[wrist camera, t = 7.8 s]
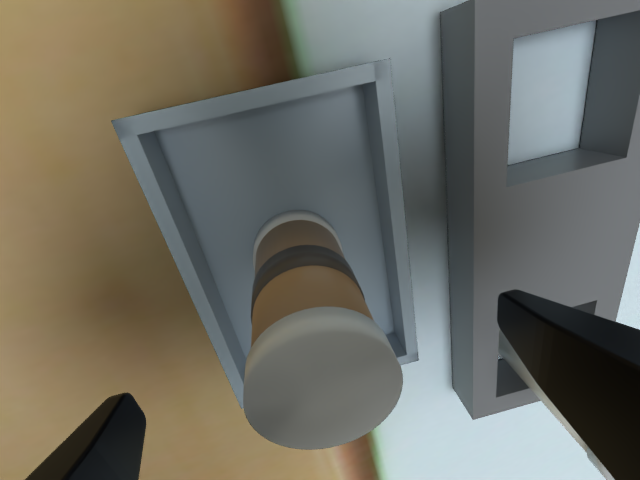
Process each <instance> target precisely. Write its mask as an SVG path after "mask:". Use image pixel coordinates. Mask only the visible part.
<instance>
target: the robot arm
mask: <svg viewBox="0 0 640 480" xmlns="http://www.w3.org/2000/svg"><path fill="white" fill-rule="evenodd" d="M497 323H498V326H499V328H500V330H501V331H502V333H503V334H504V336H505V337H506V339H507V340H508V342H509V343H510V345H511V346H512V348H513V349H514V351H515V352H516V354H517V355H518V357H519V358H520V360H521V361H522V363H523V364H524V366H525V367H526V369H527V370H528V372H529V373H530V375H531V376H532V378H533V379H534V380H535V382H536V383H537V385H538V386H539V387H540V388H541V390H542V391H543V392H544V393H545V395H546V396H547V397H548V398H549V400H550V401H551V402H552V403H553V405H554V406H555V407H556V408H557V409H558V411H559V412H560V413H561V414H562V416H563V417H564V418H565V419H566V420H567V422H568V423H569V424H570V425H571V427H572V428H573V429H574V430H575V431H576V433H577V434H578V435H579V436H580V438H581V439H582V440H583V441H584V443H585V444H586V445H587V446H588V447H589V449H590V450H591V451H592V452H593V454H594V455H595V456H596V457H597V458H598V460H599V461H600V462H601V463H602V465H603V466H604V467H605V468H606V469H607V471H608V472H609V473H610V474H611V476H612V477H613V478H614V479H615V480H640V330H639V329H636V328H633V327H630V326H627V325H624V324H621V323H618V322H615V321H612V320H609V319H606V318H603V317H600V316H597V315H594V314H591V313H588V312H584V311H581V310H578V309H575V308H572V307H569V306H566V305H563V304H560V303H557V302H554V301H551V300H548V299H545V298H542V297H539V296H536V295H533V294H530V293H527V292H524V291H521V290H518V289H513V290H509V291H506V292H502V293H500V294H499V296H498V304H497ZM145 429H146V418H145V415H144V413H143V411H142V410H141V408H140V407H139V405H138V404H137V402H136V401H135V399H134V398H133V396H132V395H131V394H130V393H122V394H118V395H114V396H111V397H109V398H107V399H106V400H105V401H104V402H103V403H102V404H101V405H100V406H99V407H98V408H97V409H96V410H95V411H94V412H93V413H92V414H91V415H90V416H89V417H88V418H87V419H86V420H85V421H84V422H83V423H82V424H81V425H80V426H79V427H78V428H77V429H76V430H75V431H74V432H73V433H72V434H71V435H70V436H69V437H68V438H67V439H66V440H65V441H64V442H63V443H62V444H61V445H60V446H59V447H58V448H57V449H56V450H55V451H53V452H52V453H51V454H50V455H49V456H48V457H47V458H46V459H45V460H44V461H43V462H42V463H41V464H40V465H39V466H38V467H37V468H36V469H35V470H34V471H33V472H32V473H31V474H30V475H29V476H28V477H27V478H26V479H25V480H138V479H139V472H140V464H141V457H142V450H143V443H144V436H145Z"/></svg>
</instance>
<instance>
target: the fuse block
mask: <svg viewBox="0 0 640 480" xmlns="http://www.w3.org/2000/svg"><path fill="white" fill-rule="evenodd" d="M440 13H441V43H442V73H443V103H444V133H445V163H446V193H447V222H448V252H449V282H450V312H451V342H452V372H453V389H454V390H455V392H456V394H457V395H458V397H459V398H460V400H461V402H462V403H463V405H464V406H465V408H466V410H467V411H468V413H469V414H470V416H471V418H472V419H473V420H474V419H478V418H481V417H485V416H488V415H492V414H495V413H499V412H502V411H506V410H509V409H513V408H516V407H520V406H523V405H527V404H530V403H534V402H537V401H541V400H540V399H539V398H538V397H537V396H536V395H535V393H534V392H533V391H532V390H531V389H530V388H529V387H528V386H527V384H526V383H525V382H524V381H523V380H522V379H521V378H520V376H519V375H518V374H517V373H516V372H515V371H514V370H513V369H512V367H511V366H510V365H509V364H508V363H507V362H506V361H505V359H501V360H498V346H499V326H498V323H497V304H498V296H499V294H500V293H502V292H506V291H509V290H513V289H518V290H521V291H524V292H527V293H530V294H533V295H536V296H539V297H542V298H545V299H548V300H551V301H554V302H557V303H560V304H563V305H566V306H569V307H572V308H575V309H578V310H581V311H584V312H588V313H591V314H594V315H597V316H600V317H603V318H606V319H609V320H612V321H616V317H617V313H618V309H619V305H620V301H621V297H622V293H623V288H624V284H625V280H626V276H627V272H628V268H629V264H630V260H631V256H632V252H633V247H634V243H635V239H636V235H637V231H638V227H639V223H640V0H469V1H466V2H464V3H462V4H459V5H457V6H454V7H452V8H449V9H447V10H445V11H442V12H440ZM594 20H598V22H597V29H596V36H595V43H594V50H593V57H592V64H591V71H590V78H589V85H588V92H587V99H586V106H585V113H584V120H583V128H582V135H581V142H580V148H578V149H574V150H570V151H566V152H562V153H558V154H554V155H550V156H546V157H542V158H538V159H534V160H529V161H525V162H521V163H517V164H513V165H509V166H507V161H508V141H509V120H510V100H511V79H512V59H513V39H514V38H518V37H522V36H527V35H531V34H536V33H540V32H545V31H549V30H554V29H558V28H562V27H567V26H571V25H576V24H580V23H585V22H589V21H594Z"/></svg>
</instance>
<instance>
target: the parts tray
mask: <svg viewBox="0 0 640 480" xmlns="http://www.w3.org/2000/svg"><path fill="white" fill-rule="evenodd" d="M111 122H112V124H113V126H114V129H115V131H116V133H117V135H118V137H119V140H120V142H121V144H122V146H123V148H124V151H125V153H126V155H127V157H128V159H129V162H130V164H131V166H132V168H133V170H134V173H135V175H136V177H137V179H138V182H139V184H140V186H141V188H142V190H143V193H144V195H145V197H146V199H147V201H148V204H149V206H150V208H151V210H152V212H153V215H154V217H155V219H156V221H157V223H158V226H159V228H160V230H161V232H162V235H163V237H164V239H165V241H166V243H167V246H168V248H169V250H170V252H171V254H172V257H173V259H174V261H175V263H176V265H177V268H178V270H179V272H180V274H181V276H182V279H183V281H184V283H185V285H186V288H187V290H188V292H189V294H190V296H191V299H192V301H193V303H194V305H195V307H196V310H197V312H198V314H199V316H200V318H201V321H202V323H203V325H204V327H205V329H206V332H207V334H208V336H209V338H210V341H211V343H212V345H213V347H214V349H215V352H216V354H217V356H218V358H219V360H220V363H221V365H222V367H223V369H224V371H225V374H226V376H227V378H228V380H229V382H230V385H231V387H232V389H233V391H234V393H235V396H236V398H237V400H238V402H239V405H240V407H241V409H242V408H244V407H243V391H244V377H245V364H246V360H247V356H248V354H249V351H250V349H251V336H252V324H251V303H252V287H253V282H254V279H255V270H254V266H253V249H254V242H255V238H256V236H257V234H258V232H259V230H260V229H261V227H262V226H263V225H264V224H265V223H266V222H267V221H268V220H269V219H271V218H272V217H274V216H275V215H277V214H280V213H282V212H285V211H290V210H306V211H310V212H313V213H316V214H318V215H320V216H322V217H323V218H325V219H326V220H327V221H328V222H329V223H330V224H331V225H332V227H333V228H334V230H335V232H336V234H337V236H338V238H339V240H340V243H341V246H342V250H343V255H344V257H345V259H346V261H347V262H348V264H349V265H350V267H351V269H352V271H353V273H354V275H355V277H356V279H357V281H358V283H359V285H360V287H361V290H362V292H363V294H364V298H365V302H366V304H367V307H368V309H369V311H370V313H371V315H372V317H373V319H374V322H375V323H377V324H378V326H379V327H380V328H381V329H382V330H383V332H384V333H385V335H386V337H387V339H388V341H389V343H390V345H391V347H392V349H393V351H394V353H395V355H396V358H397V360H398V362H399V364H400V365H403V364H407V363H411V362H414V361H418V360H419V359H418V348H417V337H416V327H415V316H414V305H413V295H412V284H411V273H410V263H409V252H408V241H407V231H406V220H405V209H404V199H403V188H402V177H401V167H400V156H399V145H398V135H397V124H396V113H395V103H394V92H393V81H392V71H391V60H390V58H389V59H384V60H380V61H375V62H371V63H366V64H362V65H357V66H353V67H348V68H344V69H339V70H335V71H330V72H326V73H321V74H317V75H312V76H308V77H304V78H299V79H295V80H290V81H286V82H281V83H277V84H272V85H268V86H263V87H259V88H254V89H250V90H245V91H241V92H236V93H232V94H227V95H223V96H218V97H214V98H210V99H205V100H201V101H196V102H192V103H187V104H183V105H178V106H174V107H169V108H165V109H160V110H156V111H151V112H147V113H142V114H138V115H133V116H129V117H125V118H120V119H116V120H111Z"/></svg>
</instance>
